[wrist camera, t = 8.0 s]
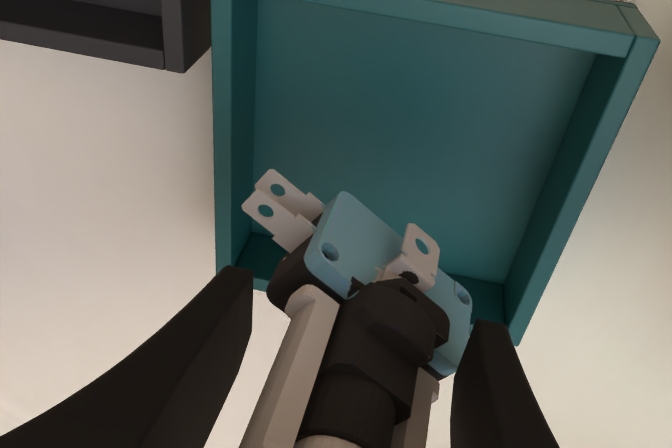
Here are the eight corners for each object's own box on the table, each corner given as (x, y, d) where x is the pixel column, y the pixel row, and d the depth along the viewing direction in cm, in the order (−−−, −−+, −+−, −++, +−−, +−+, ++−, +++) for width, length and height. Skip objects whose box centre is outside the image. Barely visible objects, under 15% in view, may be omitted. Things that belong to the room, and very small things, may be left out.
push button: (218, 220, 16) (-51, 620, 8) (336, 93, 13) (83, 540, 5) (393, 354, 18) (302, 796, 10) (536, 270, 15) (564, 815, 7)
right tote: (240, 234, 24) (215, 281, 22) (244, -63, 17) (208, -39, 15) (513, 291, 23) (518, 347, 21) (635, 3, 16) (662, 40, 14)
